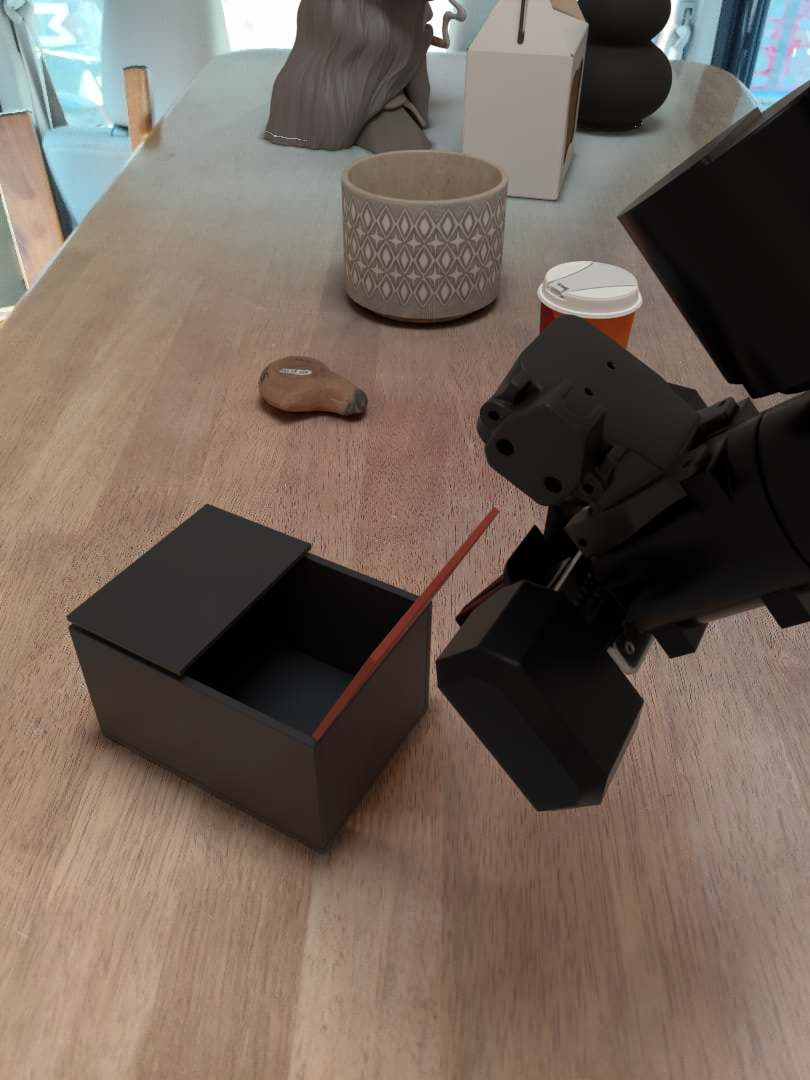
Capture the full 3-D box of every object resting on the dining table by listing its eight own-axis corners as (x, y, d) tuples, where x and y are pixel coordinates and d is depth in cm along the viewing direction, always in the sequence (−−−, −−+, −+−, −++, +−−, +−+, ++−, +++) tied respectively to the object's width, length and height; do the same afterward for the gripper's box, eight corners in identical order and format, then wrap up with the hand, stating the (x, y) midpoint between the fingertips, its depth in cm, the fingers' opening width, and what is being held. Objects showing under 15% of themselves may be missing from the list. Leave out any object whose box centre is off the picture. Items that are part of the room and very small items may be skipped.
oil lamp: (291, 449, 75) (375, 424, 78) (291, 411, 72) (378, 386, 75) (247, 390, 80) (327, 369, 83) (245, 352, 77) (328, 332, 80)
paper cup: (558, 476, 71) (582, 309, 62) (503, 429, 76) (518, 269, 67) (635, 450, 74) (669, 287, 65) (578, 407, 79) (602, 251, 70)
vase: (682, 138, 143) (735, -136, 121) (573, 144, 140) (607, -137, 118) (635, 108, 157) (675, -142, 135) (535, 113, 154) (559, -143, 132)
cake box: (487, 146, 139) (501, -72, 121) (573, 153, 137) (600, -68, 119) (459, 193, 122) (470, -53, 105) (556, 201, 120) (585, -48, 102)
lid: (430, 590, 47) (436, 594, 47) (311, 736, 39) (317, 741, 39) (494, 506, 41) (500, 510, 41) (369, 656, 34) (376, 662, 34)
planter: (382, 257, 105) (382, 141, 97) (518, 280, 100) (529, 161, 92) (318, 313, 93) (311, 187, 85) (468, 343, 88) (476, 212, 80)
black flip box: (428, 707, 52) (433, 590, 47) (323, 855, 45) (313, 737, 39) (225, 616, 58) (206, 502, 52) (101, 734, 51) (63, 616, 45)
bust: (507, 136, 143) (529, -138, 121) (318, 170, 129) (303, -134, 107) (396, 91, 166) (397, -148, 143) (224, 115, 151) (196, -146, 129)
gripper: (742, 182, 32) (453, 377, 43) (531, 420, 19) (200, 609, 31) (900, 431, 34) (585, 556, 45) (801, 793, 22) (398, 843, 33)
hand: (464, 622), depth 38 cm, fingers closed
